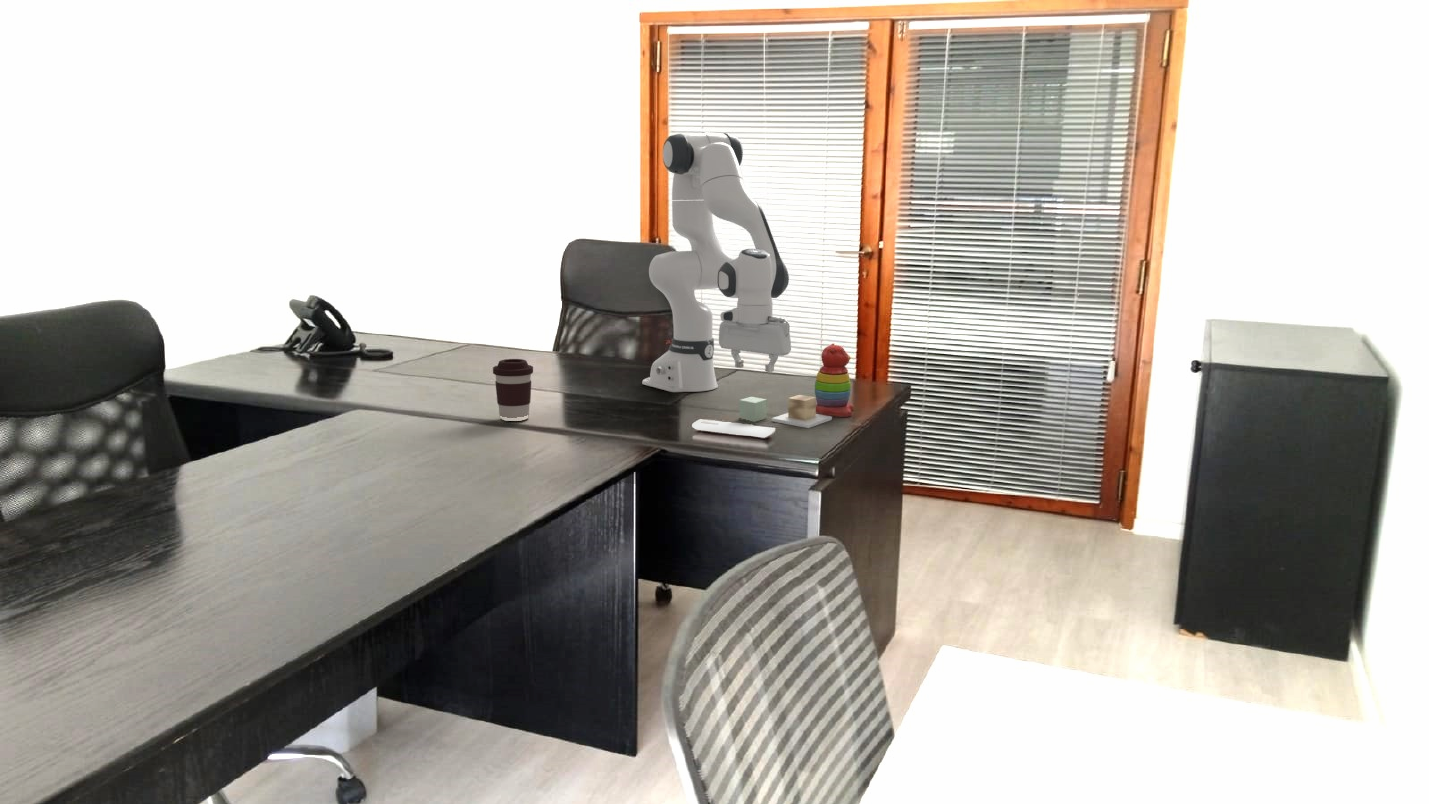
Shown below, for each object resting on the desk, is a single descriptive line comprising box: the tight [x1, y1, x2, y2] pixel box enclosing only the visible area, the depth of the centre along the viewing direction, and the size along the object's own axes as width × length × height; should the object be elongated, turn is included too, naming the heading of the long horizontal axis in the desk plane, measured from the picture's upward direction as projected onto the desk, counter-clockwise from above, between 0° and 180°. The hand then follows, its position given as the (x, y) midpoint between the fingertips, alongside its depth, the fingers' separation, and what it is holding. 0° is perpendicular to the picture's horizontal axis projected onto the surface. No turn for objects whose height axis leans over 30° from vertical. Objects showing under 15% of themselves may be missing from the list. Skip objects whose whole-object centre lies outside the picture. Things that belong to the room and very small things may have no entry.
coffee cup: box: [492, 358, 534, 418], centre depth 278 cm, size 10×10×15 cm
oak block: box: [787, 394, 817, 420], centre depth 279 cm, size 5×5×5 cm
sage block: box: [738, 396, 768, 423], centre depth 281 cm, size 5×5×5 cm
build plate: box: [771, 412, 833, 429], centre depth 280 cm, size 11×11×1 cm
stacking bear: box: [814, 343, 855, 418], centre depth 287 cm, size 11×10×18 cm
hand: (754, 369), depth 279 cm, fingers open, 8 cm apart
